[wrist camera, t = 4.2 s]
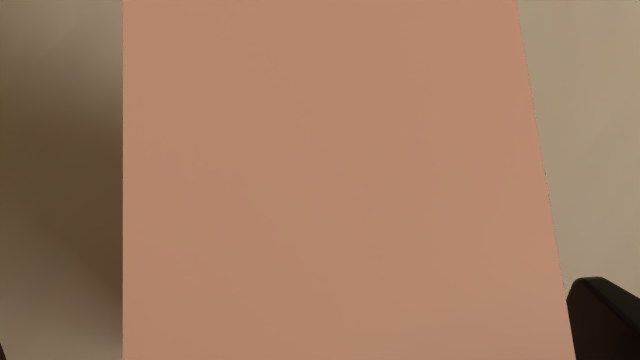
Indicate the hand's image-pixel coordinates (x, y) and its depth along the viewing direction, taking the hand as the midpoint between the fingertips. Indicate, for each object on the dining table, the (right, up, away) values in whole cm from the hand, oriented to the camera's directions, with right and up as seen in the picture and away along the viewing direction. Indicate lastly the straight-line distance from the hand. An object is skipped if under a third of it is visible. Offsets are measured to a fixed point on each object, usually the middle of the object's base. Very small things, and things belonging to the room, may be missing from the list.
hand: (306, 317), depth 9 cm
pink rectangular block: (-1, -1, +9) cm, 9 cm away
